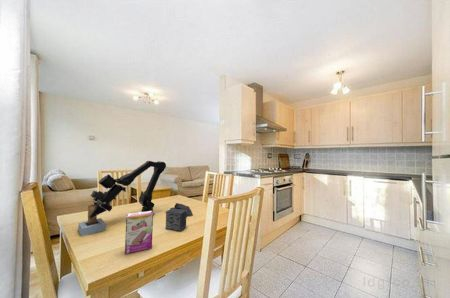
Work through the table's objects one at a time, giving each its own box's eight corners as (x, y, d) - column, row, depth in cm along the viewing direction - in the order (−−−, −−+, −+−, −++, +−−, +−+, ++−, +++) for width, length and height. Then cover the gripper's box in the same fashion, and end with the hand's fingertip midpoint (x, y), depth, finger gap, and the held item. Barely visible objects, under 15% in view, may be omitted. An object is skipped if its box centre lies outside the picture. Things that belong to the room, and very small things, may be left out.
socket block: (100, 224, 105) (100, 218, 105) (105, 230, 98) (105, 222, 98) (78, 230, 98) (78, 223, 98) (81, 236, 91) (82, 228, 91)
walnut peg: (97, 226, 100) (98, 204, 101) (94, 229, 97) (94, 206, 97) (89, 226, 100) (90, 204, 100) (86, 229, 96) (86, 206, 96)
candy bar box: (124, 255, 75) (125, 217, 75) (125, 249, 79) (126, 213, 80) (152, 248, 80) (153, 213, 81) (151, 243, 85) (152, 210, 85)
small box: (186, 227, 103) (187, 209, 104) (180, 232, 97) (181, 213, 97) (171, 224, 107) (172, 207, 107) (165, 229, 101) (165, 211, 101)
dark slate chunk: (171, 219, 116) (172, 212, 116) (169, 209, 137) (169, 203, 137) (194, 216, 122) (194, 210, 122) (189, 207, 142) (189, 201, 142)
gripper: (97, 183, 108) (73, 204, 99) (105, 187, 95) (79, 213, 87) (111, 193, 113) (90, 215, 105) (121, 199, 101) (98, 224, 92)
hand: (89, 216), depth 97 cm, fingers open, 4 cm apart
